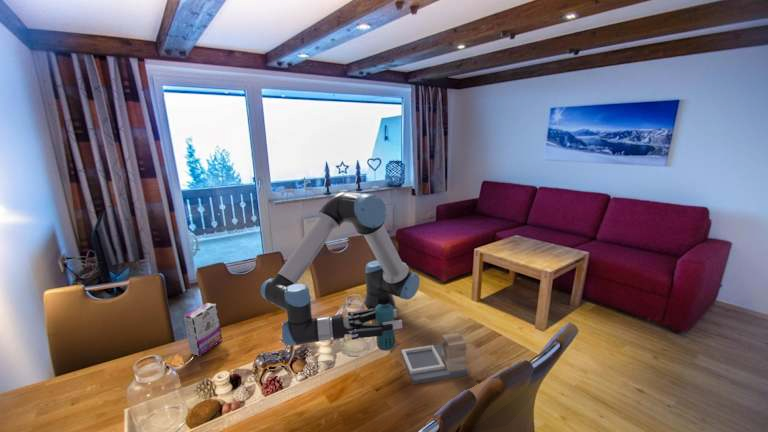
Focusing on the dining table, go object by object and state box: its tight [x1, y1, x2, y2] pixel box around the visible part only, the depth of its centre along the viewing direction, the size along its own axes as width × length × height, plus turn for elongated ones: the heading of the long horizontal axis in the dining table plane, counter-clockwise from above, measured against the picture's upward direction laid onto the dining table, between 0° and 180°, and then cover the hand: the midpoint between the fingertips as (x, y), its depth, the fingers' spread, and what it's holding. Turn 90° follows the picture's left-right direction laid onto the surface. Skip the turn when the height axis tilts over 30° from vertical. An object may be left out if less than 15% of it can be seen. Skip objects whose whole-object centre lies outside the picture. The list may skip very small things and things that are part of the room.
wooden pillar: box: [441, 332, 467, 372], centre depth 112 cm, size 6×6×10 cm
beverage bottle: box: [375, 294, 396, 351], centre depth 113 cm, size 6×7×20 cm
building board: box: [400, 344, 469, 385], centre depth 116 cm, size 16×19×2 cm
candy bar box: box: [183, 302, 223, 357], centre depth 128 cm, size 11×5×16 cm, turn 161°
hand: (399, 318), depth 113 cm, fingers closed on beverage bottle, 6 cm apart
